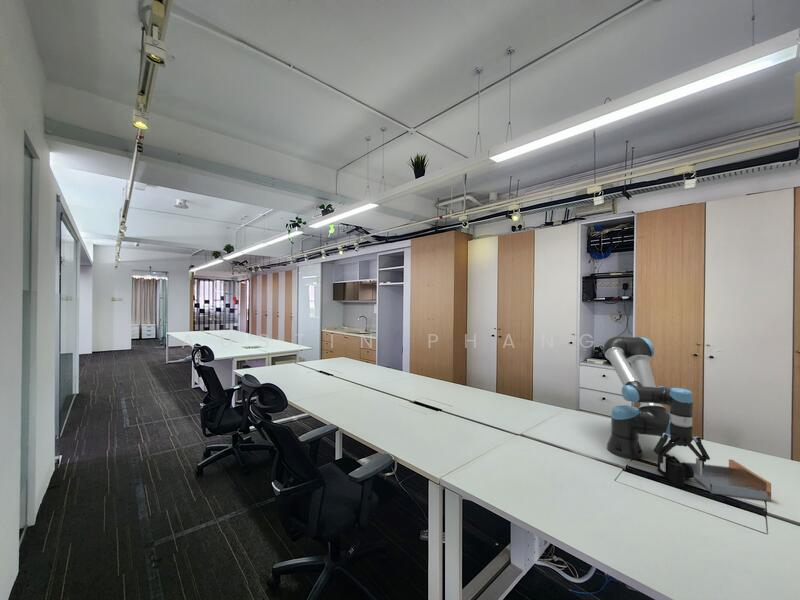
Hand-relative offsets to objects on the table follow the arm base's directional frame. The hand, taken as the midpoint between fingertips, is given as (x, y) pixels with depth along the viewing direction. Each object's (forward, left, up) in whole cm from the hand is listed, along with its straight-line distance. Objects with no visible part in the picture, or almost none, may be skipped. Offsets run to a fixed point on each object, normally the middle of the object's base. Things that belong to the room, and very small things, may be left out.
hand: (680, 472), depth 141 cm
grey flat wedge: (+15, 0, -3) cm, 15 cm away
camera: (-1, 0, -3) cm, 4 cm away
